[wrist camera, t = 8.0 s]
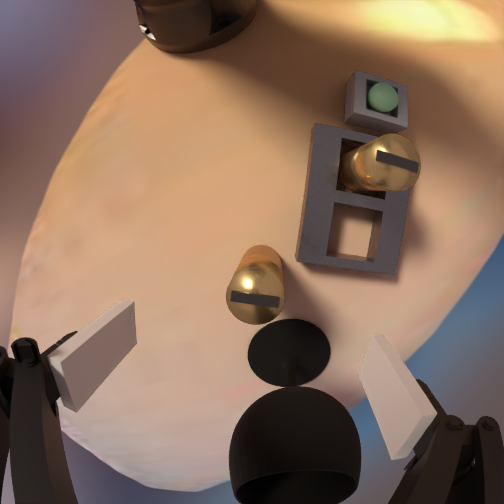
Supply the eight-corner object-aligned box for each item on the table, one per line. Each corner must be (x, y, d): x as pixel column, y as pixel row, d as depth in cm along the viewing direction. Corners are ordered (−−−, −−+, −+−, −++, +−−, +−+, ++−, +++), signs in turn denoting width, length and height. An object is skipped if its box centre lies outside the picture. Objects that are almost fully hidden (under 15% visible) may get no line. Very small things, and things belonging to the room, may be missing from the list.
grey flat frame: (295, 256, 29) (296, 261, 27) (311, 128, 26) (315, 123, 24) (385, 268, 29) (394, 274, 26) (402, 150, 26) (412, 147, 23)
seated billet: (335, 186, 27) (368, 183, 17) (340, 146, 27) (375, 125, 16) (372, 194, 27) (418, 196, 17) (377, 156, 26) (424, 142, 16)
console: (344, 122, 26) (354, 112, 22) (346, 84, 25) (355, 70, 21) (392, 134, 26) (407, 127, 22) (393, 97, 25) (407, 86, 21)
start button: (364, 110, 23) (371, 104, 21) (365, 85, 22) (371, 79, 20) (390, 117, 23) (398, 112, 21) (391, 93, 22) (398, 87, 20)
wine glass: (325, 310, 30) (378, 445, 11) (332, 377, 32) (364, 505, 13) (239, 325, 32) (200, 466, 12) (256, 390, 34) (241, 519, 14)
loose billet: (239, 281, 30) (222, 321, 20) (243, 242, 30) (228, 267, 20) (278, 286, 30) (279, 329, 20) (284, 248, 29) (289, 275, 19)
